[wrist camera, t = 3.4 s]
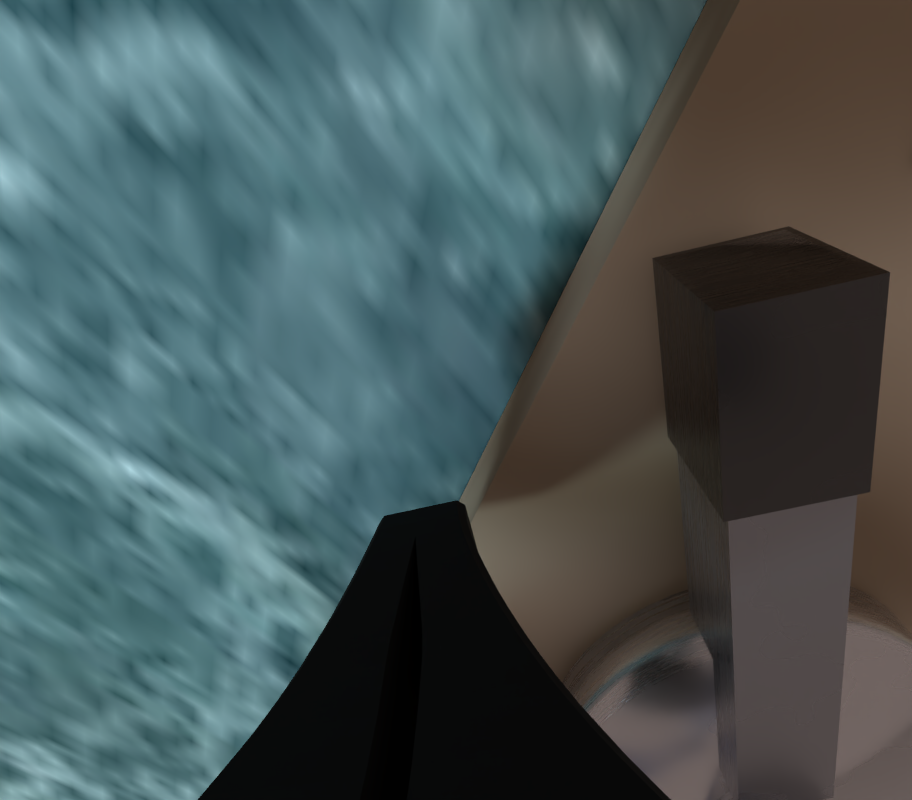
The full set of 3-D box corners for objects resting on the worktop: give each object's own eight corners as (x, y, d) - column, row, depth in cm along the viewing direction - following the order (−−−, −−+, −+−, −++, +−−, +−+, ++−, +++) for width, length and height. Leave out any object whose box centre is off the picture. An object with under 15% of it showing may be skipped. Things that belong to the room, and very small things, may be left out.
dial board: (888, 861, 20) (917, 910, 19) (337, 745, 17) (330, 797, 15) (1586, 291, 12) (1710, 315, 11) (807, -201, 8) (869, -243, 7)
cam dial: (897, 785, 16) (1019, 973, 13) (576, 841, 16) (613, 1035, 13) (992, 169, 9) (1312, 229, 6) (439, 298, 10) (448, 420, 6)
